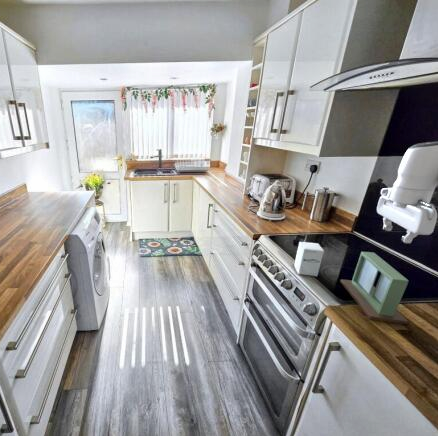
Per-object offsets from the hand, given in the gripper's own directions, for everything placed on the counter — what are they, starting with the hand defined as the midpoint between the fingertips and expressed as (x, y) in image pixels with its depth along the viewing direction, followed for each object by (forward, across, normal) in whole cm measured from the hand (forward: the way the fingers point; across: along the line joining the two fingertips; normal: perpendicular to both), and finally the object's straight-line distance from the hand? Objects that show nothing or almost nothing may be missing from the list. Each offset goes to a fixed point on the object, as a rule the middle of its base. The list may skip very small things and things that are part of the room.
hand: (395, 235), depth 80 cm
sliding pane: (+23, -6, 0) cm, 23 cm away
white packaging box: (+25, +14, +19) cm, 34 cm away
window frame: (+25, -2, +2) cm, 25 cm away
